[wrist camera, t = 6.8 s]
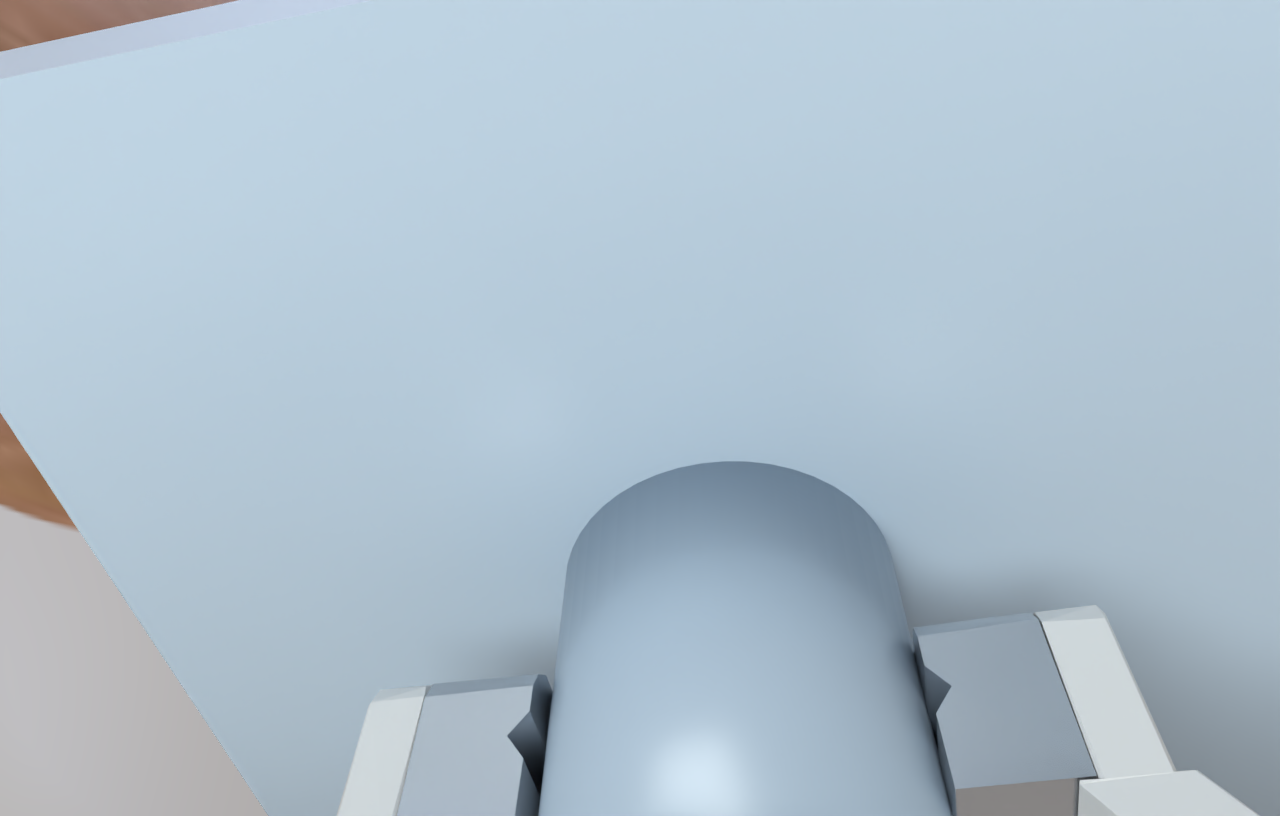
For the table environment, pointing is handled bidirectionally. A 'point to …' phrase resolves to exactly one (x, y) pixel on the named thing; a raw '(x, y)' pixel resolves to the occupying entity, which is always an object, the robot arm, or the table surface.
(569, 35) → the lid
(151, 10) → the table surface
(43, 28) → the table surface
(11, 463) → the table surface
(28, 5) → the table surface
